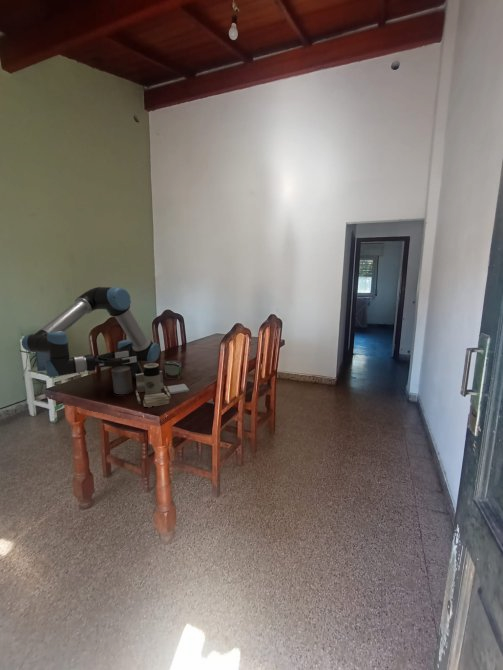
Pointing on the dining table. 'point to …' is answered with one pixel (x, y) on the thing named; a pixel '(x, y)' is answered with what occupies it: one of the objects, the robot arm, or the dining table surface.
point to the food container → (172, 369)
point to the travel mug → (152, 379)
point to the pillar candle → (122, 380)
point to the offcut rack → (153, 398)
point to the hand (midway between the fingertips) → (132, 356)
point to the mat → (177, 388)
